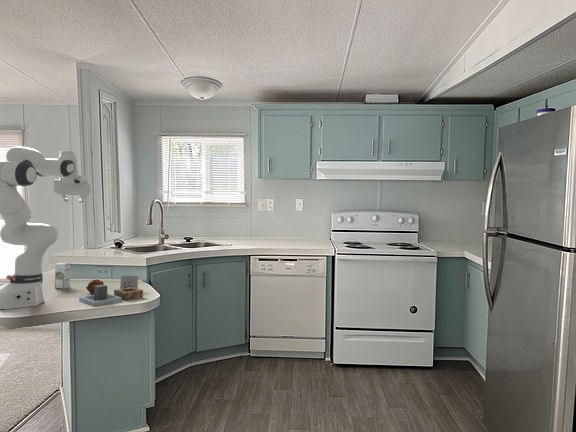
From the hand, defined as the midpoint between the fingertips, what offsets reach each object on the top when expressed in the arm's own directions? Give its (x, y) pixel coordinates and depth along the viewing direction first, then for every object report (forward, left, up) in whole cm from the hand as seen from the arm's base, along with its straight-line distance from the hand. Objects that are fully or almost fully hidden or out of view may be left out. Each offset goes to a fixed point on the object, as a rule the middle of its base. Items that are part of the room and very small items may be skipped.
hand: (73, 201), depth 234 cm
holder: (+9, -43, -50) cm, 67 cm away
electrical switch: (+18, -30, -50) cm, 61 cm away
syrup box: (-4, +2, -50) cm, 50 cm away
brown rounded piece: (+2, -23, -50) cm, 55 cm away
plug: (-5, -41, -50) cm, 65 cm away
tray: (-5, -41, -50) cm, 65 cm away
